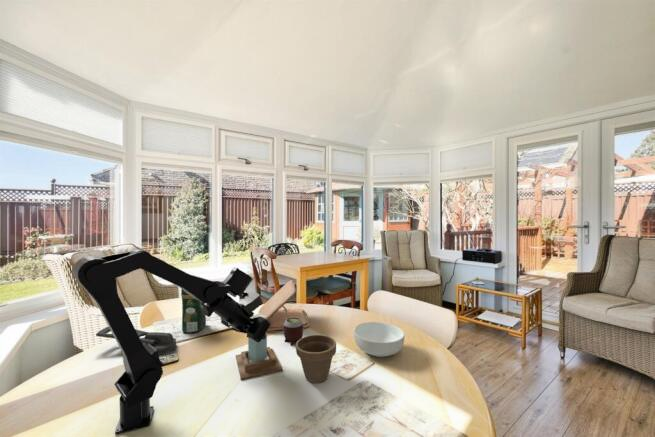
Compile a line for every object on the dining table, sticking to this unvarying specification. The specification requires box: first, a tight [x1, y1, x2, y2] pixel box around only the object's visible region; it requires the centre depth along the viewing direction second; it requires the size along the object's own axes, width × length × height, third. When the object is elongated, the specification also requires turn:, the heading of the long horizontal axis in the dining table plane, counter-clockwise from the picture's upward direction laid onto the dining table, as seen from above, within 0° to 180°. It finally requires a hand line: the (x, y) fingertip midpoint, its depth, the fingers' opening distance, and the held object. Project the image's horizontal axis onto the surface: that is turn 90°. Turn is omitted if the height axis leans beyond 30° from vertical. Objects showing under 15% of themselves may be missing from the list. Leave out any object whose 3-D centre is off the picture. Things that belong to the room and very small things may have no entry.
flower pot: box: [295, 334, 337, 384], centre depth 84 cm, size 12×11×10 cm
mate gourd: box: [280, 304, 304, 347], centre depth 106 cm, size 8×8×15 cm
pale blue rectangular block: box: [247, 313, 268, 362], centre depth 91 cm, size 4×4×13 cm
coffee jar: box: [180, 288, 207, 334], centre depth 118 cm, size 10×8×19 cm
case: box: [258, 279, 310, 332], centre depth 126 cm, size 20×21×16 cm
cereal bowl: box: [353, 321, 405, 358], centre depth 99 cm, size 17×17×7 cm
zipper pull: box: [95, 326, 177, 355], centre depth 102 cm, size 9×7×25 cm
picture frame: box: [235, 346, 284, 381], centre depth 91 cm, size 14×12×2 cm
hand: (261, 335), depth 92 cm, fingers closed on pale blue rectangular block, 4 cm apart
